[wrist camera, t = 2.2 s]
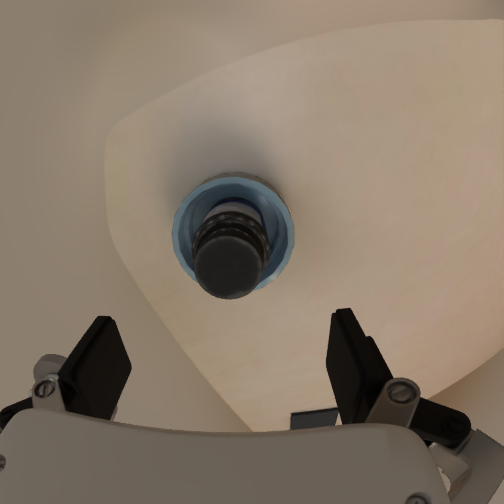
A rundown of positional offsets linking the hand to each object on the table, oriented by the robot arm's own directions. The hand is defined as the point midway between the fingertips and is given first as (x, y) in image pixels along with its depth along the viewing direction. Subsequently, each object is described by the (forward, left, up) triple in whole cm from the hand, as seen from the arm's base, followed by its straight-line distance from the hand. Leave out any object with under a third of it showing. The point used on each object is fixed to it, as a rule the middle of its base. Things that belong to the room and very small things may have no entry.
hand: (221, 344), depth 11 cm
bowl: (0, 0, -19) cm, 19 cm away
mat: (+10, -36, -19) cm, 42 cm away
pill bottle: (0, 0, -19) cm, 19 cm away
